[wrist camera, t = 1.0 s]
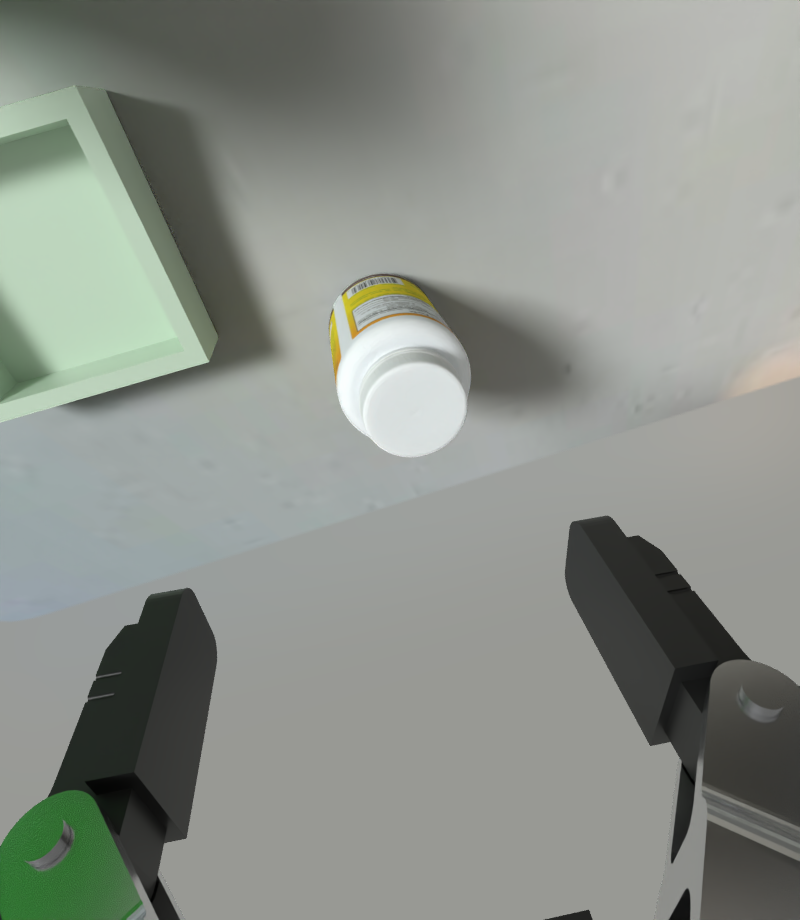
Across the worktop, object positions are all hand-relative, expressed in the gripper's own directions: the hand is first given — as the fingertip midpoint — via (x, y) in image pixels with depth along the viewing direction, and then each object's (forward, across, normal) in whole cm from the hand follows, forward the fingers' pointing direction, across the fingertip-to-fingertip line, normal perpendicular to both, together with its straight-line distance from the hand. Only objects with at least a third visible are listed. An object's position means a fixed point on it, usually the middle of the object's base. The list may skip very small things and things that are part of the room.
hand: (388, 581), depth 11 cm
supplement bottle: (+19, -2, +1) cm, 19 cm away
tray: (+19, +12, -4) cm, 23 cm away
